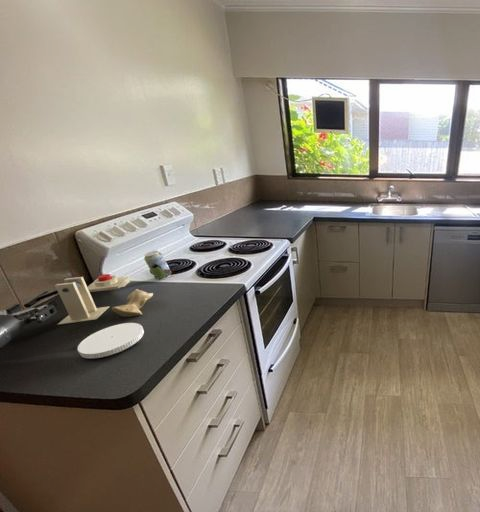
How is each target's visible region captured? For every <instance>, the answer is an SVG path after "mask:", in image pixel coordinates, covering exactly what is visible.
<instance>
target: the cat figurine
mask: <svg viewBox="0 0 480 512" xmlns="http://www.w3.org/2000/svg"><path fill="white" fill-rule="evenodd" d="M153 296H154V293H153V292H147V291H145V290H141V289H139V288H136V289H135V290H133V291H132V292H130V293H129V294H128V295H127V297H126V302H127V303H126V304H121V305H116V306H112V307H111V310H112V311H113V313H115V314H117V315H118V316H120V317H122V318H128V317H129V318H131V317H138V316H141V315H143V313H142V311H141V308H143V307H144V305H145V304H146V302H147V301H148V300H150V299H151V298H152V297H153Z"/></svg>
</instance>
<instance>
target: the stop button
mask: <svg viewBox="0 0 480 512" xmlns="http://www.w3.org/2000/svg"><path fill="white" fill-rule="evenodd" d="M97 279H99V281H100V282H101V281H107V280H110V279H112V278H111V274H110V273H104V274H100V275H98V276H97Z"/></svg>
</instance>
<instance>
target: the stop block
mask: <svg viewBox="0 0 480 512" xmlns="http://www.w3.org/2000/svg"><path fill="white" fill-rule="evenodd" d="M110 276H111V278H112V279H110V280H107V281H101V282H100V281H99V279H98V278H96V279H95V280H93V282H92V283H90V284H89V285H87V288H88V290H89V292H90V293H96V292H103V291H112V290H120V289H121V288H124V287H126V286H127V285H128V284H129V283H131V279H130V276H121V277H117V276H116V275H112V274H110Z"/></svg>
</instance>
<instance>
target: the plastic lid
mask: <svg viewBox="0 0 480 512" xmlns="http://www.w3.org/2000/svg"><path fill="white" fill-rule="evenodd" d="M144 334H145V330H144V328H143V326H142V324H140V323H137V322H124V323H119V324H115V325H111V326H107V327H104V328H102V329H100V330H98V331H96V332H94V333H91V334H90V335H89V336H87V337H86V338H84V339H83V340H81V342H80V343H79V344H78V345H77V352H78V354H79V356H80V357H82V358H84V359H100V358H104V357H109V356H112V355H115V354H118V353H120V352H123V351H125V350H127V349H129V348H130V347H132V346H134V345H135V344H136V343H138V342H139V341H140V340H141V339H142V338H143V336H144Z"/></svg>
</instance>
